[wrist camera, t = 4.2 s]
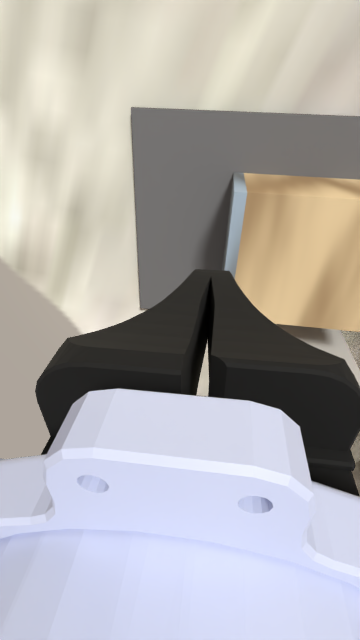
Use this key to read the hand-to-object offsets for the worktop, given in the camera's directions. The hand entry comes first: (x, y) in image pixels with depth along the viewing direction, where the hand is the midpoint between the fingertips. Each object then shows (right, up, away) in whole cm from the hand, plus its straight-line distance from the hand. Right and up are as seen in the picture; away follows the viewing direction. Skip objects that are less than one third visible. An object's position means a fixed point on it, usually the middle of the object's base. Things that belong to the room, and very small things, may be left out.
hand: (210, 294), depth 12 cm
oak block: (+1, +3, +4) cm, 5 cm away
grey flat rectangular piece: (+4, +4, +6) cm, 8 cm away
